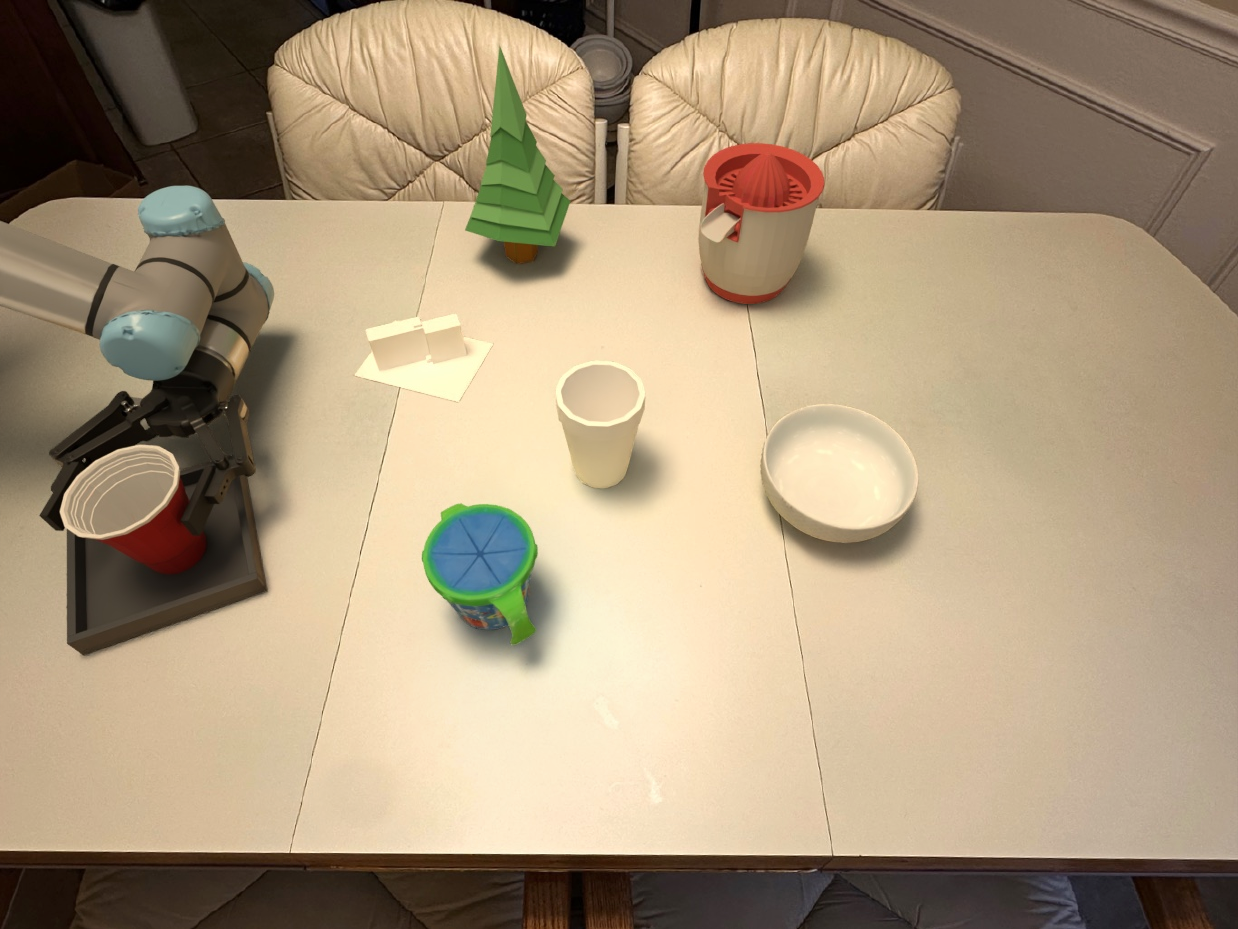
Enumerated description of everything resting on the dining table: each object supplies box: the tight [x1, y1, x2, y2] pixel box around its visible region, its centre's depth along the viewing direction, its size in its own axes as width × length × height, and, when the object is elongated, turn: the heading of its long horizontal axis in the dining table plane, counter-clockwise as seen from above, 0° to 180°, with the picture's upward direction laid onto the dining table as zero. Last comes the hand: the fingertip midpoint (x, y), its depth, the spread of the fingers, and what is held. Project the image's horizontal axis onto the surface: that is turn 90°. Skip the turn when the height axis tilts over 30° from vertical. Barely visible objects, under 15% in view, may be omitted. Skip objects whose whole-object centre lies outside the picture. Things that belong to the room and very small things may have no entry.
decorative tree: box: [464, 45, 571, 265], centre depth 100 cm, size 14×16×30 cm
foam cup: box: [554, 360, 646, 489], centre depth 83 cm, size 10×9×13 cm
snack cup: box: [421, 503, 539, 646], centre depth 73 cm, size 16×10×10 cm
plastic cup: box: [60, 444, 207, 575], centre depth 75 cm, size 11×11×12 cm
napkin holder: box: [354, 313, 494, 403], centre depth 96 cm, size 15×11×6 cm
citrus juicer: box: [697, 142, 825, 305], centre depth 101 cm, size 16×17×20 cm
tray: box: [66, 453, 268, 656], centre depth 79 cm, size 18×18×3 cm
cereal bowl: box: [759, 403, 920, 544], centre depth 83 cm, size 17×17×7 cm
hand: (120, 526), depth 72 cm, fingers open, 13 cm apart
